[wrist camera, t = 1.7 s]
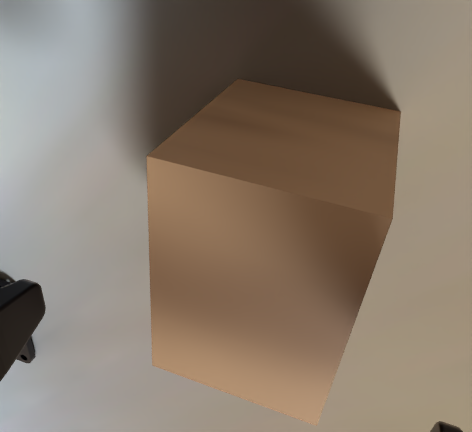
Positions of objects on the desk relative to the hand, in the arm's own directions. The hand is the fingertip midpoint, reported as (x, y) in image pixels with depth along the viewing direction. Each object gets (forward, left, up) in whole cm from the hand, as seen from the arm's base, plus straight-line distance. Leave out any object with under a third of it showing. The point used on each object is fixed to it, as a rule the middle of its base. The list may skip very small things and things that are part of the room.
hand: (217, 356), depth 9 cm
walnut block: (0, 0, -8) cm, 8 cm away
